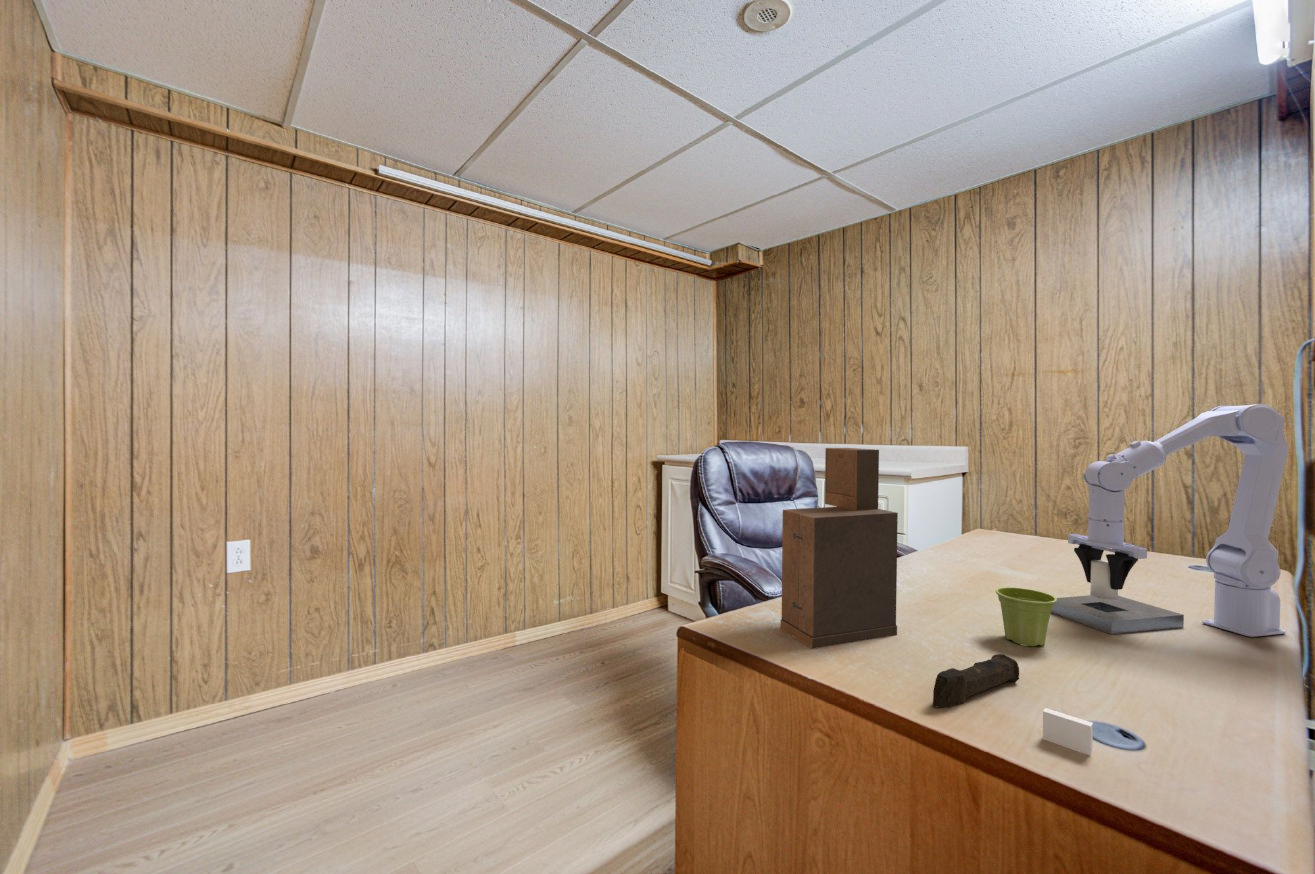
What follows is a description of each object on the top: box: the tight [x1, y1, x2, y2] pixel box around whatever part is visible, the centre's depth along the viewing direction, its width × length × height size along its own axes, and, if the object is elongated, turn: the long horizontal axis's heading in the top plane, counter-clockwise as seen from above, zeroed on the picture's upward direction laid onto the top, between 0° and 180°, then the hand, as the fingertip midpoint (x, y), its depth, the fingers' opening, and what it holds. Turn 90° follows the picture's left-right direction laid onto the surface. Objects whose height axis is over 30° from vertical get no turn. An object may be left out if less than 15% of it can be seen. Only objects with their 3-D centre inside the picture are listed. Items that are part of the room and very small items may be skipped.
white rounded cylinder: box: [1089, 559, 1119, 600], centre depth 113 cm, size 4×4×7 cm
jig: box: [1050, 594, 1185, 635], centre depth 114 cm, size 18×14×2 cm
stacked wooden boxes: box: [779, 447, 899, 649], centre depth 107 cm, size 19×14×35 cm
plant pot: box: [995, 586, 1057, 647], centre depth 102 cm, size 9×9×9 cm
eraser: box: [1042, 707, 1094, 756], centre depth 68 cm, size 1×5×4 cm, turn 43°
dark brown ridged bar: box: [932, 653, 1020, 708], centre depth 82 cm, size 19×4×5 cm, turn 118°
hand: (1104, 585), depth 113 cm, fingers closed on white rounded cylinder, 4 cm apart
